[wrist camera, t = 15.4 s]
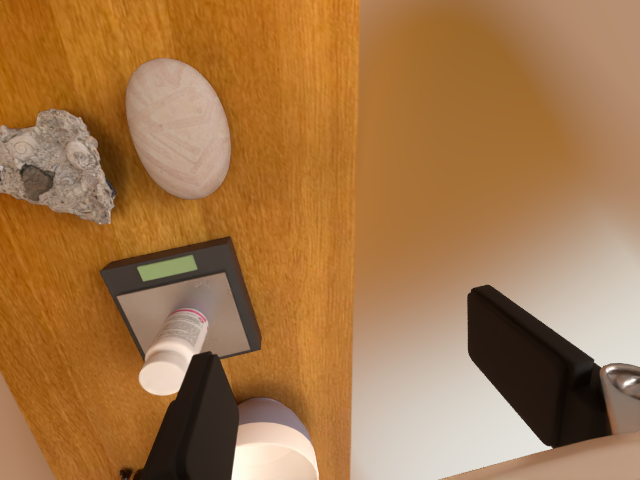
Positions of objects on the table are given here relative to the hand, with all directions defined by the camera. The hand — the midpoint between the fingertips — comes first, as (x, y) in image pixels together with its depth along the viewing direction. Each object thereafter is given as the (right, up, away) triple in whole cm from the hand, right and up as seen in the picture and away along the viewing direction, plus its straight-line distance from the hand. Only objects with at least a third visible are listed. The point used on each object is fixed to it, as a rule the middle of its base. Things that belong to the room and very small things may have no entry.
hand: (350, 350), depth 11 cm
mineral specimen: (-27, +12, +20) cm, 36 cm away
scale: (-17, -4, +27) cm, 32 cm away
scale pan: (-17, -6, +25) cm, 31 cm away
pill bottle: (-17, -6, +25) cm, 30 cm away
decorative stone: (-15, +15, +21) cm, 30 cm away
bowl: (-10, -23, +35) cm, 44 cm away
